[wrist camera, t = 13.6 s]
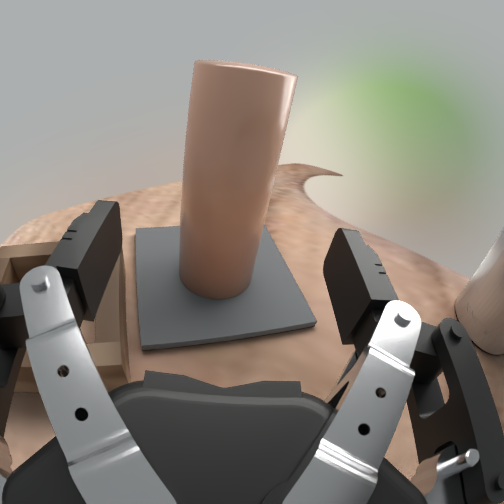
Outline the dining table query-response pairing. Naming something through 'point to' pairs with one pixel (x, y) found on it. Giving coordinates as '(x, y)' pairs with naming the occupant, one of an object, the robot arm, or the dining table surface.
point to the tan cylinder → (229, 171)
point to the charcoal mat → (212, 310)
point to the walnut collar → (107, 317)
